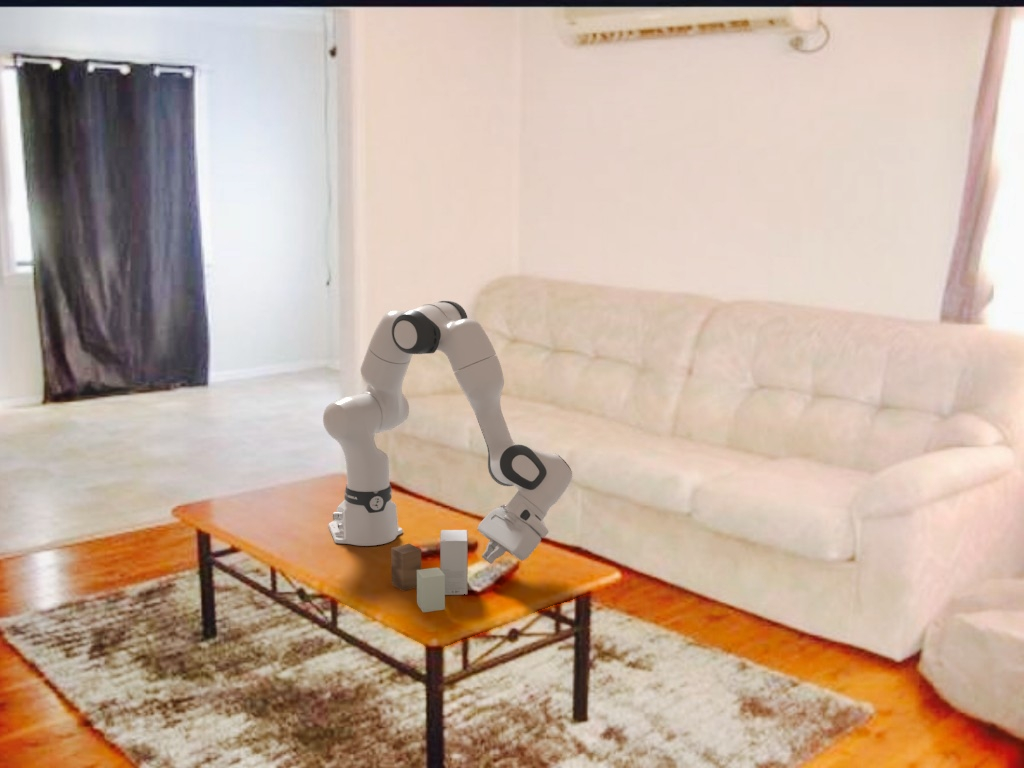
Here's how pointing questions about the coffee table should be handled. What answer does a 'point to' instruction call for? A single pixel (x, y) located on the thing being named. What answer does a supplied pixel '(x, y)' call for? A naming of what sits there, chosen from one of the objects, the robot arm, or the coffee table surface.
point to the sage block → (430, 589)
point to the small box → (454, 561)
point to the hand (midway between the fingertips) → (486, 560)
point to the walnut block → (405, 566)
